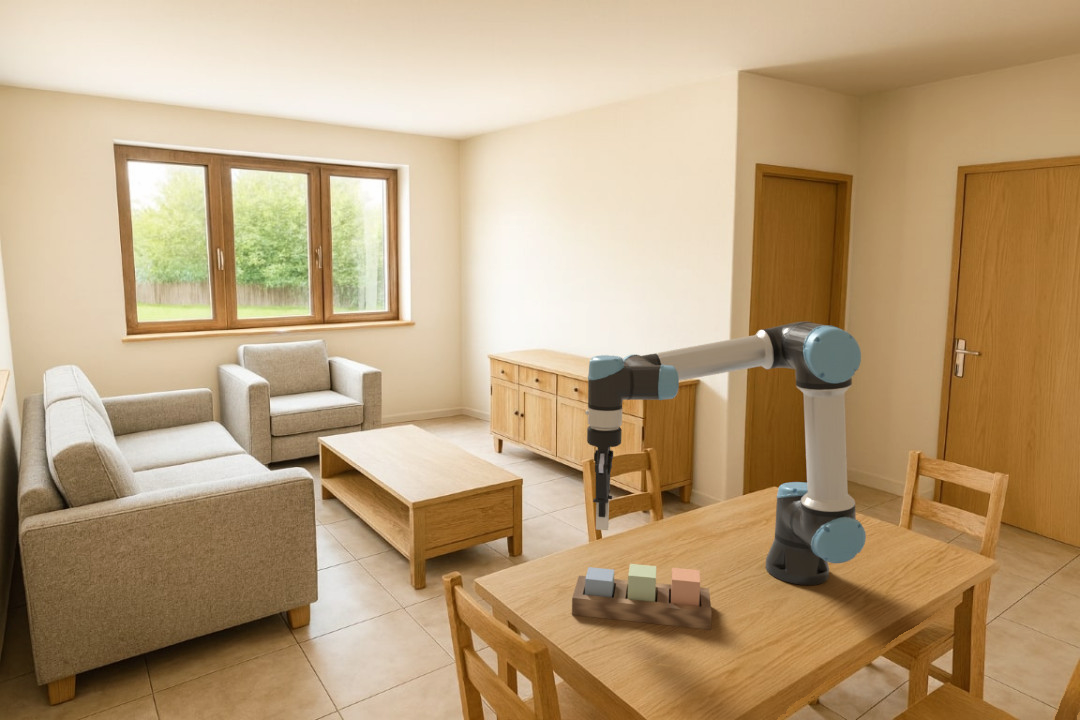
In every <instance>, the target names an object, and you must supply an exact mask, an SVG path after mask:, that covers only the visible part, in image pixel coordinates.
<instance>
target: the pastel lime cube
mask: <svg viewBox="0 0 1080 720" xmlns="http://www.w3.org/2000/svg"><path fill="white" fill-rule="evenodd" d="M627 580H628V598H627V599H632V600H642V601H651V602H655V591H656V583H657V565H648V564H647V565H646V564H636V563H629V569H628V574H627Z"/></svg>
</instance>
